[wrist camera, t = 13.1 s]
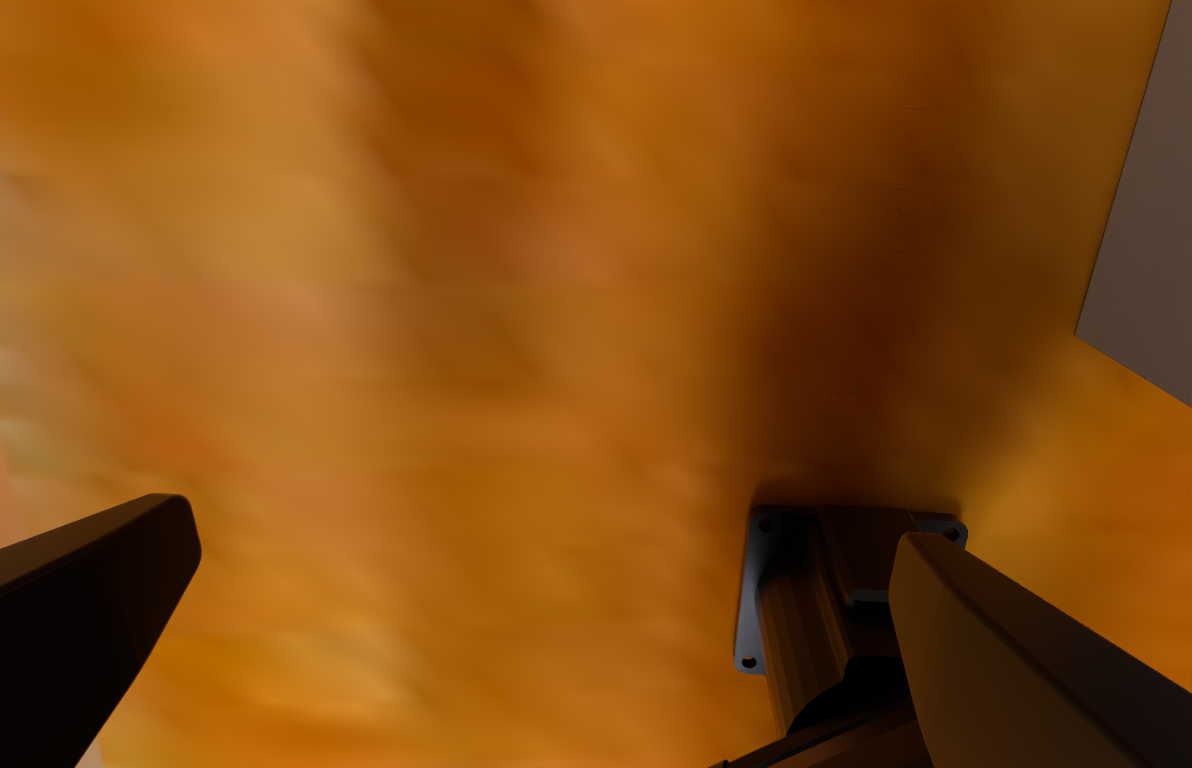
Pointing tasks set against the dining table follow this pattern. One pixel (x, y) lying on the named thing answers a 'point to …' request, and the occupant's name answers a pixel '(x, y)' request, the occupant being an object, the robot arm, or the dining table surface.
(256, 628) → the dining table surface
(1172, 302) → the box
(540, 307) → the dining table surface
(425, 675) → the dining table surface
